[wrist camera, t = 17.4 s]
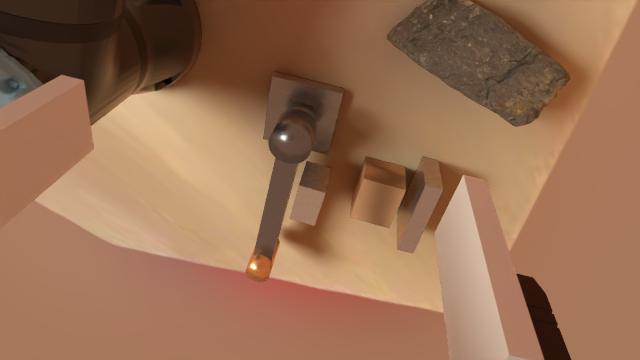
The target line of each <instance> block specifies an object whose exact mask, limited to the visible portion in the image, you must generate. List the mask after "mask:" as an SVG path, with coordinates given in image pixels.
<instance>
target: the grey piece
mask: <svg viewBox="0 0 640 360" xmlns="http://www.w3.org/2000/svg"><path fill="white" fill-rule="evenodd" d="M343 93H344V88H340V87H336V86H332V85H328V84H324V83H320V82H316V81H312V80H308V79H304V78H300V77H296V76H292V75H288V74H284V73H279V72H274V73H273V75H272V78H271V85H270V93H269V100H268V107H267V115H266V122H265V129H264V137H263V139H267V140H269V137H270V135H271V133H272V131H273V129H274V127H275V125H276V123H277V121H278V119H279V117H280V116H281V115H282V114H283V113H284V112H285V111H287V110H290V109H300V110H303V111H305V112H307V113H309V114H310V115H311V116H312V117H313V118H314V120H315V122H316V125H317V133H316V136H315V139H314V142H313V146H312V149H311V151H315V152H319V153H323V154H327V155H328V153H329V149H330V145H331V141H332V137H333V133H334V129H335V125H336V121H337V117H338V113H339V109H340V105H341V101H342V97H343ZM442 192H443V185H442V179H441V174H440V168H439V162H438V161H437V160H433V159H429V158H425V157H422V158H421V161H420V163H419V165H418V168H417V170H416V173H415V175H414V178H413V180H412V182H411V185H410V187H409V190H408V192H407V194H406V197H405V199H404V202H403V204H402V207H401V209H400V211H399V214H398V216H397V250H401V251H405V252H409V253H414V251H415V248H416V246H417V244H418V242H419V240H420V238H421V236H422V234H423V232H424V229H425V227H426V225H427V223H428V221H429V219H430V217H431V215H432V213H433V211H434V208H435V206H436V204H437V202H438V200H439V198H440V196H441V194H442Z"/></svg>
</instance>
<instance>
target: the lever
mask: <svg viewBox="0 0 640 360" xmlns="http://www.w3.org/2000/svg"><path fill="white" fill-rule="evenodd" d="M316 133H317V125H316V122H315V120H314V118H313V117H312V116H311V115H310V114H309V113H307V112H305V111H303V110H300V109H290V110H287V111H285V112H284V113H283V114H282V115H281V116H280V117H279V119H278V121H277V123H276V125H275V127H274V129H273V131H272V133H271V135H270V137H269V148H270V151H271V153H272V154H273V155H274V156H275V157H276V159H275V163H274V167H273V172H272V176H271V180H270V185H269V189H268V194H267V198H266V202H265V207H264V211H263V216H262V220H261V224H260V229H259V233H258V237H257V242H256V246H255V248H254V251H253V253H252V256H251V259H250V261H249V264H248V266H247V269H246V274H247V276H248V277H249V278H250V279H252V280H254V281H257V282H263V281H266V280H267V279H268V278H269V275H270V272H271V269H272V266H273V262H274V259H275V256H276V253H277V250H278V247H279V244H280V242H279V239H278V237H279V234H280V230H281V226H282V222H283V219H284V215H285V211H286V208H287V204H288V200H289V197H290V193H291V189H292V186H293V182H294V178H295V174H296V171H297V167H298V163H301V162H303V161H304V160H306V159H307V157H308V156H309V154H310V152H311V149H312V146H313V142H314V139H315V136H316ZM330 172H331V168H329V167H326V166H322V165H319V164H316V163H312V162H309V161H307V162H306V165H305V168H304V171H303V174H302V178H301V181H300V184H299V187H298V191H297V194H296V198H295V201H294V205H293V208H292V212H291V215H290V219H292V220H296V221H299V222H302V223H306V224H309V225H313V226H315V223H316V220H317V217H318V214H319V212H320V209H321V206H322V203H323V200H324V197H325V194H326V189H327V185H328V180H329V176H330Z"/></svg>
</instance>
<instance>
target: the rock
mask: <svg viewBox="0 0 640 360" xmlns="http://www.w3.org/2000/svg"><path fill="white" fill-rule="evenodd" d="M387 40H389V41H390V42H391V43H392V44H393V45H394V46H396V47H397V48H399V49H400V50H402V51H403V52H405V53H406V54H407V55H408V56H409V57H410V58H411V59H413V60H414V61H415V62H416V63H418V64H419V65H420V66H422V67H423V68H425V69H426V70H427V71H429V72H430V73H432V74H434V75H436V76H437V77H439V78H440V79H441V80H442V81H443V82H445V83H446V84H447V85H449V86H450V87H452V88H454V89H456V90H458V91H460V92H461V93H463V94H464V95H465V96H466V97H468V98H470V99H472V100H473V101H475V102H477V103H478V104H480V105H482V106H484V107H486V108H488V109H490V110H492V111H493V112H495V113H497V114H498V115H500V116H501V117H502V118H504V119H505V120H506V121H507V122H509V123H511V124H512V125H514V126H516V127H517V126H522V125H526V124H529V123H531V122H532V121H534V120H535V119H536V118H538V117H539V114H540V112H541V111H542V110H543V108H544V107H545V106H546V105H547V103H548V102H549V101H550V100H552V99H554V98H555V97H556V95H557V93H556V91H557V90H561V88H562V87H563V86H565V85H566V83H567V82H568V81H569V79H570V77H569V74H568V73H567V71H566V70H565V69H564V68H563V67H562V66H561V65H560V64H558V63H557V62H555V61H554V60H552V59H551V58H550V57H549V56H548V55H547V54H546V53H545V52H543V51H541V50H540V49H539V48H538V47H536V46H535V45H534V44H533V43H532V42H530V41H529V40H527V39H526V38H525V37H524V36H523V35H521V34H520V33H519V32H517V31H516V30H514V29H513V28H512V27H511V26H510V25H509V24H508V23H506V22H505V21H504V20H503V19H501V18H500V17H499V16H497V15H496V14H495V13H492V12H490V11H489V10H487V9H484V8H482V7H480V6H479V5H478V4H476V3H474V2H472V1H471V0H428V1H426V2H425V3H423V4H422V5H420V6H419V7H416V8H415V9H414V11H413V12H412V13H411V14H410V15H409V16H408V17H407V18H405V19H404V20H403V21H402V22H400V23H399V24H398V25H397V26H395V27H394V28H393V29H392V30H391V32H390V33H389V34H388V35H387Z"/></svg>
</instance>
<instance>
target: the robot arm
mask: <svg viewBox="0 0 640 360" xmlns="http://www.w3.org/2000/svg"><path fill="white" fill-rule="evenodd" d="M200 44H201V23H200V17H199V13H198V10H197V7H196V4H195V1H194V0H0V229H1V228H2V227H3V226H4V225H5V224H6V223H8V222H9V221H10V220H11V219H12V218H14V217H15V216H16V215H17V214H18V213H19V212H20V211H22V210H23V209H24V208H25V207H26V206H28V205H29V204H30V203H31V202H32V201H33V200H35V199H36V198H37V197H38V196H39V195H40V194H42V193H43V192H44V191H45V190H46V189H47V188H49V187H50V186H51V185H52V184H53V183H55V182H56V181H57V180H58V179H59V178H60V177H62V176H63V175H64V174H65V173H66V172H67V171H69V170H70V169H71V168H72V167H73V166H74V165H76V164H77V163H78V162H79V161H80V160H81V159H83V158H84V157H85V156H86V155H87V154H89V153H90V152H91V151H92V150H93V149H94V145H93V138H92V132H91V126H92V125H93V124H94V123H96V122H97V121H98V120H99V119H101V118H102V117H103V116H105V115H106V114H107V113H108V112H110V111H111V110H112V109H114V108H115V107H116V106H117V105H119V104H120V103H121V102H123V101H124V100H125V99H126V98H128V97H129V96H130V95H134V94H140V93H147V92H153V91H158V90H161V89H164V88H166V87H168V86H170V85H172V84H174V83H175V82H176V81H178V80H179V79H180V78H181V77H182V76H183V75H185V74H186V73H187V72H188V71H189V70H190V68H191V67H192V66H193V64H194V62H195V60H196V58H197V56H198V53H199V49H200ZM434 236H435V244H436V252H437V260H438V268H439V277H440V285H441V293H442V301H443V309H444V317H445V325H446V333H447V341H448V350H449V357H450V360H571V358H570V355H569V353H568V350H567V348H566V345H565V342H564V340H563V337H562V335H561V332H560V330H559V328H557V325H558V324H557V322H556V319H555V317H554V314H552V309H551V306H550V303H549V301H548V298H547V296H546V294H545V292H544V291H543V290H542V288H541V287H540V286H539V285H538V283H537V282H536V281H535V280H534V278H532V277H528V276H524V275H520V274H516V272H515V269H514V265H513V262H512V260H511V256H510V253H509V250H508V247H507V244H506V241H505V238H504V235H503V232H502V229H501V226H500V222H499V219H498V216H497V213H496V210H495V207H494V204H493V201H492V198H491V195H490V192H489V189H488V186H487V183H486V180H483V179H479V178H475V177H471V176H467V175H463V177H462V179H461V181H460V183H459V185H458V187H457V189H456V191H455V193H454V195H453V197H452V199H451V201H450V203H449V205H448V207H447V209H446V211H445V213H444V215H443V217H442V219H441V221H440V223H439V225H438V227H437V229H436V231H435V233H434Z"/></svg>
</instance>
